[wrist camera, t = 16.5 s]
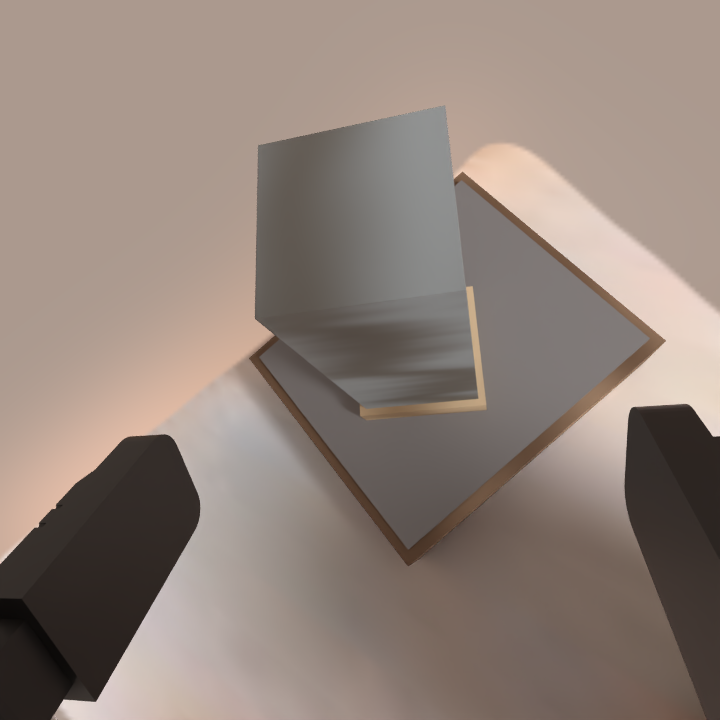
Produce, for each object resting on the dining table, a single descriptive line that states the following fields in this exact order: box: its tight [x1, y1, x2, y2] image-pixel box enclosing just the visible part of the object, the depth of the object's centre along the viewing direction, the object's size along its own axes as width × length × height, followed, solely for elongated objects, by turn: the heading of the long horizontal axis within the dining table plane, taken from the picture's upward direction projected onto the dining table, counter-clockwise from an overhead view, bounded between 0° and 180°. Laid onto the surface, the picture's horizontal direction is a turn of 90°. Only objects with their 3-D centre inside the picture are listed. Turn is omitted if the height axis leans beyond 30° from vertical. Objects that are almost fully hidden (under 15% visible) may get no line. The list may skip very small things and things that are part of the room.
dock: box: [249, 172, 666, 566], centre depth 26 cm, size 15×13×4 cm
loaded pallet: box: [255, 106, 487, 420], centre depth 19 cm, size 6×6×13 cm
